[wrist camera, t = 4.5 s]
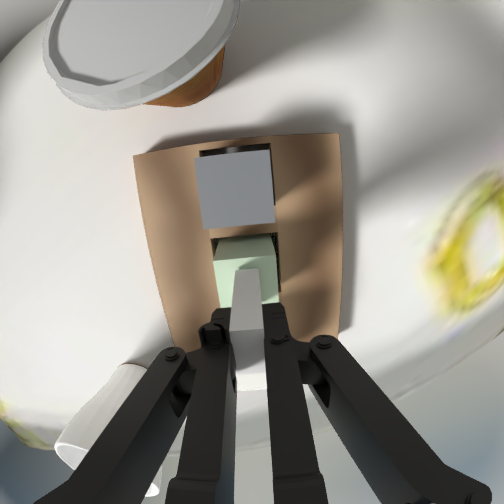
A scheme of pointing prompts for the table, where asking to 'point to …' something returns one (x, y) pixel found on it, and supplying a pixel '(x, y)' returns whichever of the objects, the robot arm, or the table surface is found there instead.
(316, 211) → the button board
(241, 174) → the gray button
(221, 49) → the disposable coffee cup
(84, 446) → the cup
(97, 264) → the table surface
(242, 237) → the pale green block
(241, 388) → the white block
